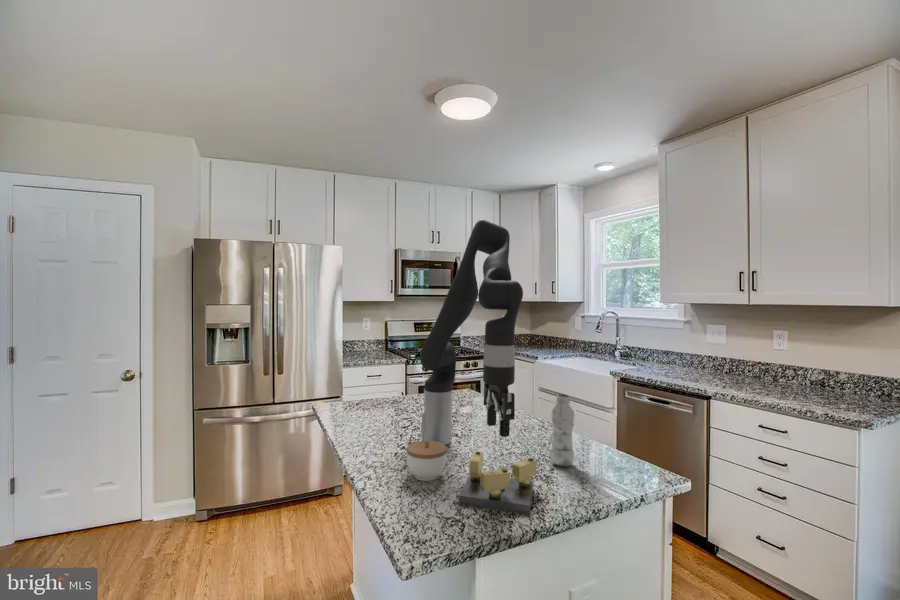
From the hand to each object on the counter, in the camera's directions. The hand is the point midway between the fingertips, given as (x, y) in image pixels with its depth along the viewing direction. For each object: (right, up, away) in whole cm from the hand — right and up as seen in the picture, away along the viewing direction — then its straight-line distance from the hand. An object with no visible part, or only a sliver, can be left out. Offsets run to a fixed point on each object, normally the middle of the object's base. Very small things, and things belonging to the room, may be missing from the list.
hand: (497, 430), depth 101 cm
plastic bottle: (+21, -16, +20) cm, 33 cm away
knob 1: (-5, -14, +5) cm, 15 cm away
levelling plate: (0, -16, 0) cm, 16 cm away
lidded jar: (-18, -16, +11) cm, 26 cm away
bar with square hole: (-1, -14, -4) cm, 15 cm away
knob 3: (+7, -14, +2) cm, 16 cm away
